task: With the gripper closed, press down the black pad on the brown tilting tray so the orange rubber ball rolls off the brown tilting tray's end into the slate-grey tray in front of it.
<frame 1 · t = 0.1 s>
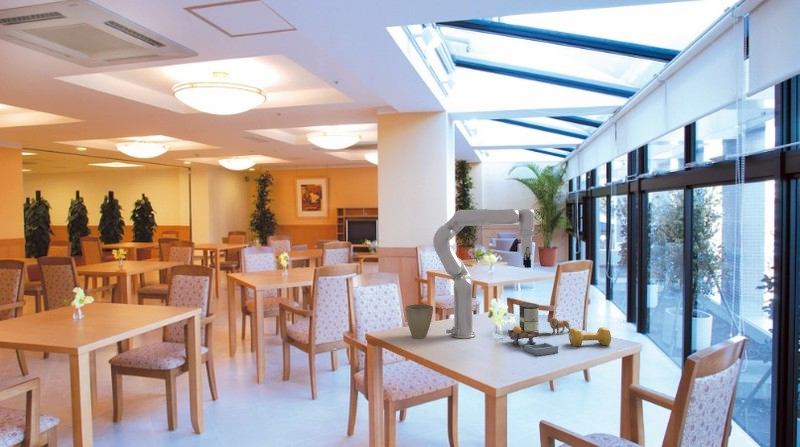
hand: (527, 266, 245), 37 cm above the table, tool pointing down, fingers open, 9 cm apart
coffee can: (529, 330, 262), on the table
dumbbell: (589, 345, 233), on the table
lever stand: (523, 344, 235), on the table
brown tilting tray: (529, 334, 236), point 5 cm above the table, hinge at -10.0°, touching ball
lion figurine: (560, 333, 255), on the table
plant pot: (419, 337, 251), on the table
ball: (517, 329, 239), point 6 cm above the table, touching brown tilting tray
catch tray: (541, 351, 223), on the table
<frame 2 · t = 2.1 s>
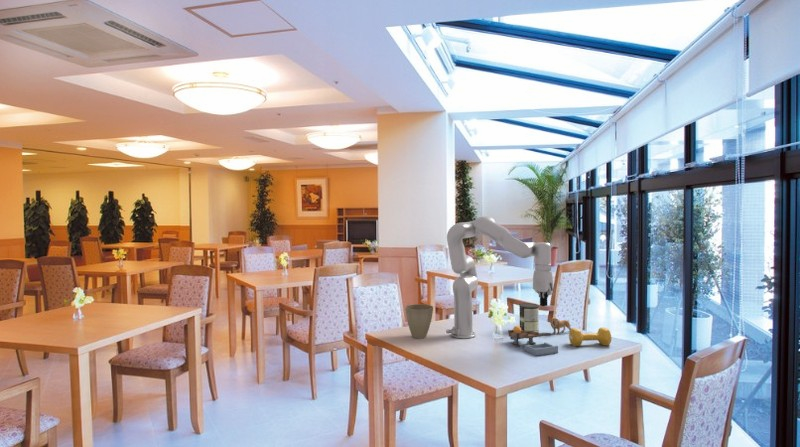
hand: (543, 305, 231), 20 cm above the table, tool pointing down, fingers closed
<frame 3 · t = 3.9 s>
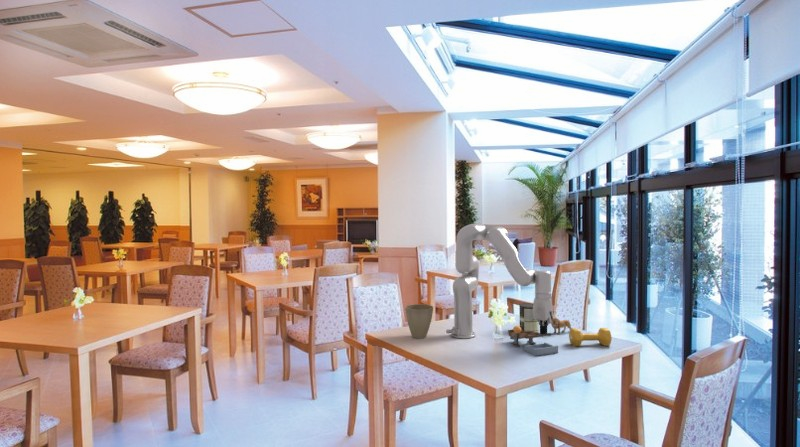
hand: (543, 333, 231), 6 cm above the table, tool pointing down, fingers closed
brown tilting tray: (529, 334, 236), point 5 cm above the table, hinge at -8.9°, touching ball, gripper
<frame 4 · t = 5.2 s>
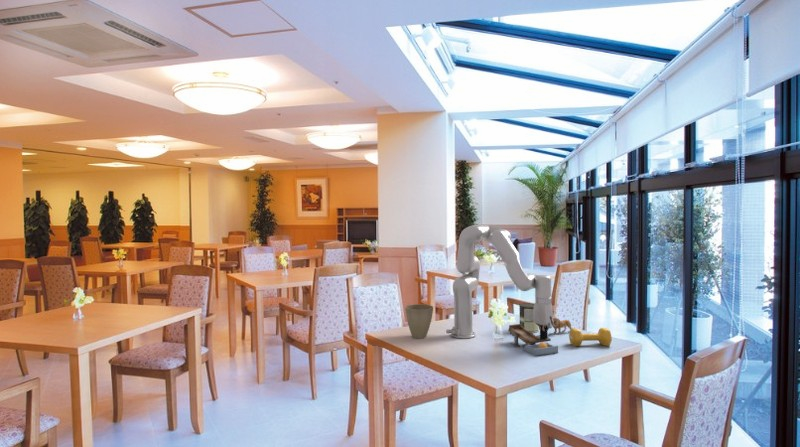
hand: (543, 338, 231), 4 cm above the table, tool pointing down, fingers closed
brown tilting tray: (529, 334, 236), point 5 cm above the table, hinge at 12.3°, touching gripper
ball: (542, 346, 221), point 3 cm above the table, tilted 115°, touching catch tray
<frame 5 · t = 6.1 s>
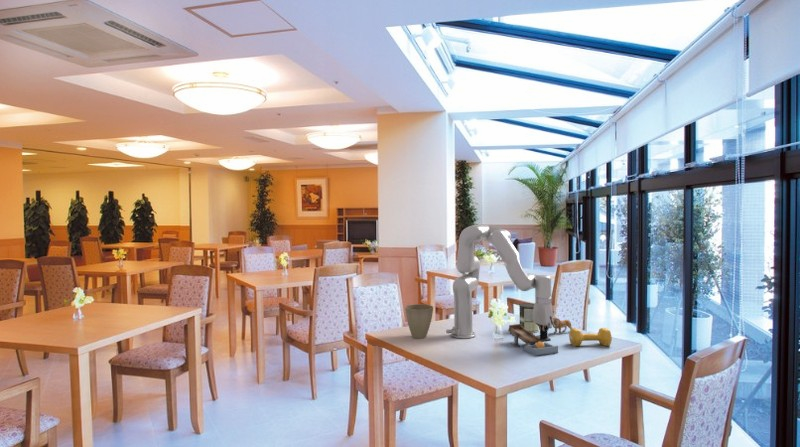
hand: (543, 338, 231), 4 cm above the table, tool pointing down, fingers closed
ball: (540, 345, 223), point 3 cm above the table, tilted 169°, touching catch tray
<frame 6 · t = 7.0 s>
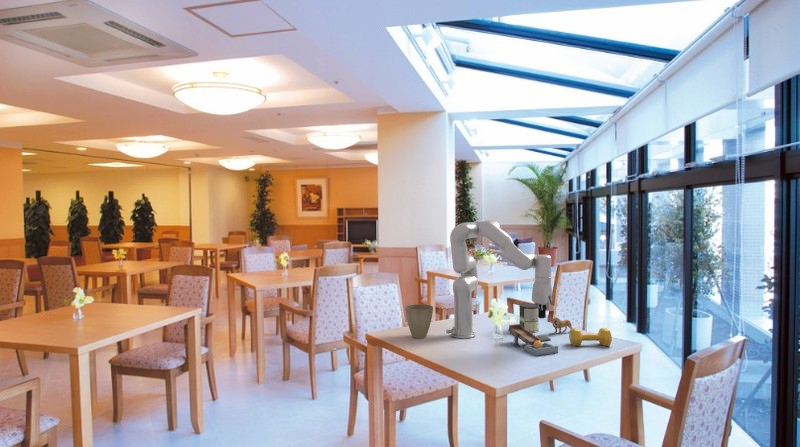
hand: (541, 317, 232), 14 cm above the table, tool pointing down, fingers closed
brown tilting tray: (529, 334, 236), point 5 cm above the table, hinge at 12.3°
ball: (537, 344, 225), point 3 cm above the table, tilted 144°, touching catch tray
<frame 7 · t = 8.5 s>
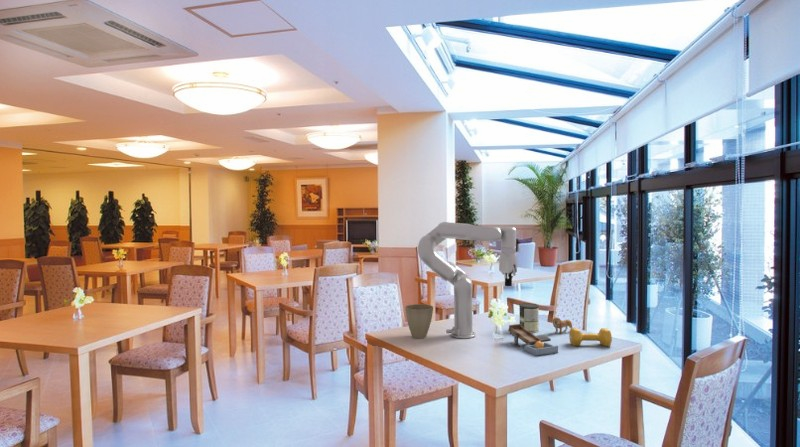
hand: (508, 285, 248), 27 cm above the table, tool pointing down, fingers closed
ball: (539, 345, 224), point 3 cm above the table, tilted 172°, touching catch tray
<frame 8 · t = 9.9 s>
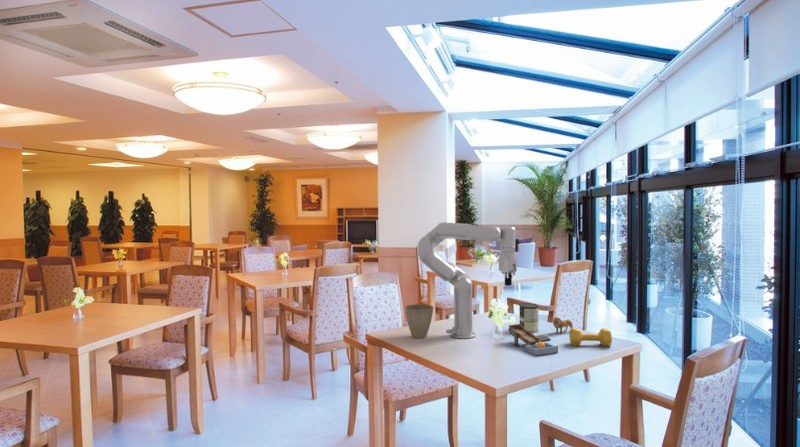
hand: (508, 285, 249), 27 cm above the table, tool pointing down, fingers closed
ball: (540, 345, 223), point 3 cm above the table, tilted 162°, touching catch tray
at the end: ball inside the target area on the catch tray (0.4 cm from its centre), point 2.6 cm above the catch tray's base; brown tilting tray at +12° (first picture: -10°) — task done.
